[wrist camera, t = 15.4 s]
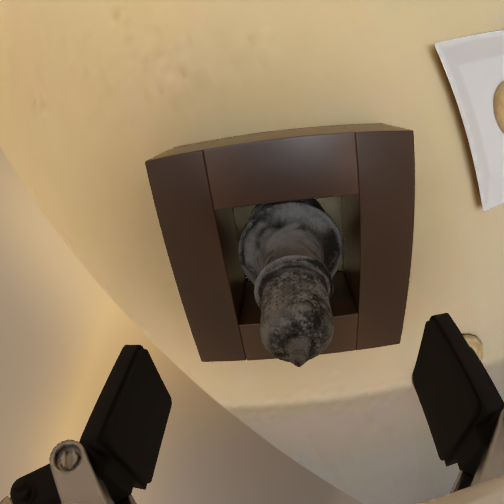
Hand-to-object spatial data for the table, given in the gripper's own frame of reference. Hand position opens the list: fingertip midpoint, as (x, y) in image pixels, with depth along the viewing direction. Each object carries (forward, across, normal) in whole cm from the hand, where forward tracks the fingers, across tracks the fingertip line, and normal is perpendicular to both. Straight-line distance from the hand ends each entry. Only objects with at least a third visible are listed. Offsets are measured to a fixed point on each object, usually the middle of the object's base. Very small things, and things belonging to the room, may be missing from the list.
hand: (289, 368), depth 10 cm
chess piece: (+12, -1, 0) cm, 12 cm away
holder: (+12, -1, 0) cm, 12 cm away
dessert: (+12, -19, -8) cm, 24 cm away
